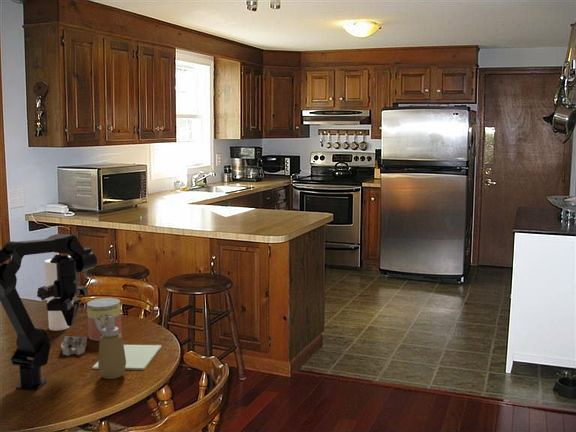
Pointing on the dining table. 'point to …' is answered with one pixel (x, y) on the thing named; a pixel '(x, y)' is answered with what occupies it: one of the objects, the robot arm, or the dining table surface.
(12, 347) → the dining table surface
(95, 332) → the canned food
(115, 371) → the tan nozzle bottle
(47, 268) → the cylindrical container
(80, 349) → the egg carton
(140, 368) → the mat
